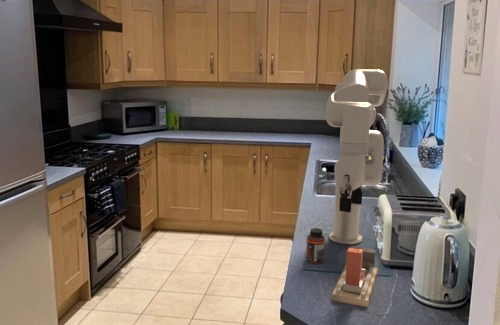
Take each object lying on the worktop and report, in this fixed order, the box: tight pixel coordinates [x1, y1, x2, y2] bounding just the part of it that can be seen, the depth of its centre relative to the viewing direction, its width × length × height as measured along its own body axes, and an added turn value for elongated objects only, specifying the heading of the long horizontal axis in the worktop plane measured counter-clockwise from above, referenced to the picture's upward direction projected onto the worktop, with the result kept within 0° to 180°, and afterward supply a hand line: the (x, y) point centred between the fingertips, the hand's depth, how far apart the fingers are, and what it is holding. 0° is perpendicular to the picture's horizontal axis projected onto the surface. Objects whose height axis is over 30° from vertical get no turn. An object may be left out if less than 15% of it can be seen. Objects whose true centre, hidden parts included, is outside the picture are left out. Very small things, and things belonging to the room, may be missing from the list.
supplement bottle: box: [305, 227, 326, 265], centre depth 166 cm, size 6×6×11 cm
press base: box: [331, 245, 378, 308], centre depth 148 cm, size 24×10×8 cm, turn 160°
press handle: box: [343, 247, 365, 293], centre depth 143 cm, size 8×5×12 cm, turn 160°
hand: (350, 207), depth 141 cm, fingers open, 9 cm apart
